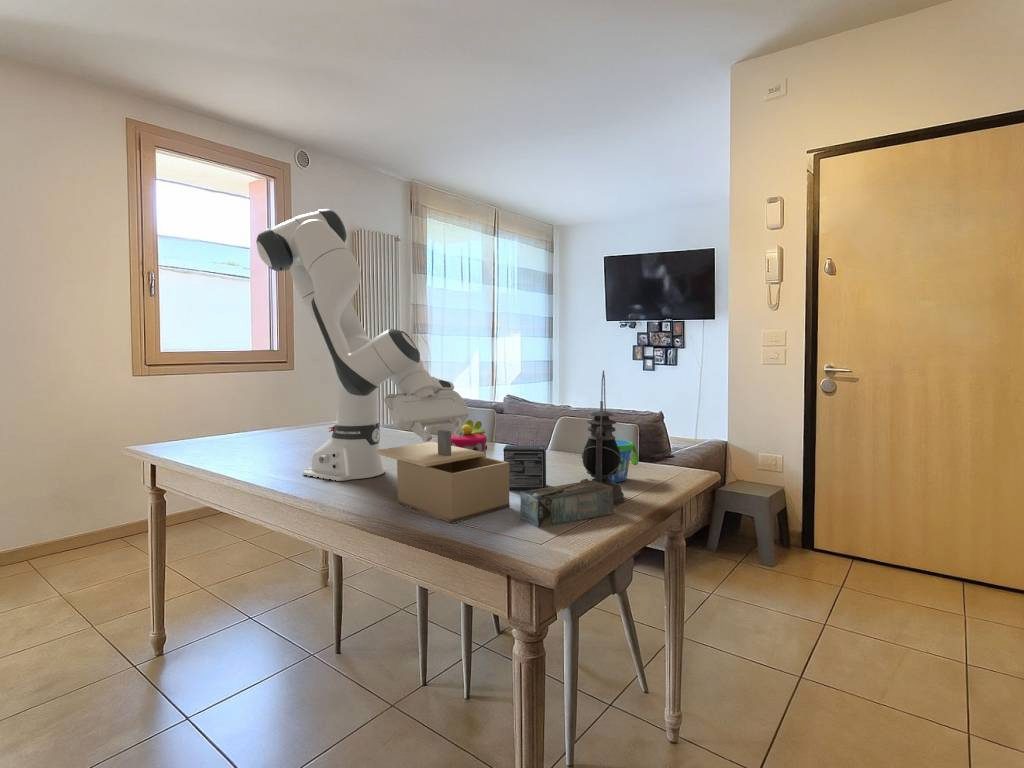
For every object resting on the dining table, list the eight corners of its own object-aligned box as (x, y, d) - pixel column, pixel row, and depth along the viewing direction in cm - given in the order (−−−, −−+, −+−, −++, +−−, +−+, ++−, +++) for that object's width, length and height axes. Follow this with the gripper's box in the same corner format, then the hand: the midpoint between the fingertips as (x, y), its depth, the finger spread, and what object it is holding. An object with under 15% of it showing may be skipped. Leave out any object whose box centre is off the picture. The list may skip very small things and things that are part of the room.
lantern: (582, 490, 133) (582, 369, 131) (626, 493, 130) (627, 369, 128) (574, 504, 121) (575, 371, 119) (623, 508, 118) (624, 371, 116)
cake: (485, 479, 145) (485, 424, 144) (446, 479, 145) (446, 424, 144) (488, 470, 155) (488, 418, 154) (452, 470, 156) (451, 418, 155)
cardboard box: (397, 503, 123) (397, 459, 122) (453, 490, 134) (453, 450, 133) (452, 523, 108) (451, 474, 108) (509, 506, 120) (509, 462, 119)
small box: (546, 484, 139) (546, 444, 139) (545, 491, 133) (545, 449, 132) (506, 483, 140) (505, 443, 140) (503, 490, 134) (502, 448, 133)
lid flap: (375, 453, 128) (374, 427, 128) (432, 444, 140) (431, 420, 140) (425, 467, 114) (424, 437, 113) (484, 455, 125) (484, 428, 125)
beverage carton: (518, 518, 112) (518, 487, 112) (594, 506, 121) (594, 477, 121) (537, 529, 105) (537, 496, 105) (616, 515, 114) (616, 484, 114)
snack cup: (627, 473, 151) (627, 437, 151) (648, 481, 141) (649, 443, 141) (577, 477, 146) (577, 440, 145) (595, 487, 136) (595, 447, 136)
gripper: (386, 386, 121) (413, 434, 115) (457, 382, 135) (483, 424, 129) (376, 404, 124) (401, 452, 118) (446, 398, 139) (471, 440, 133)
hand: (445, 437), depth 124 cm, fingers open, 8 cm apart
